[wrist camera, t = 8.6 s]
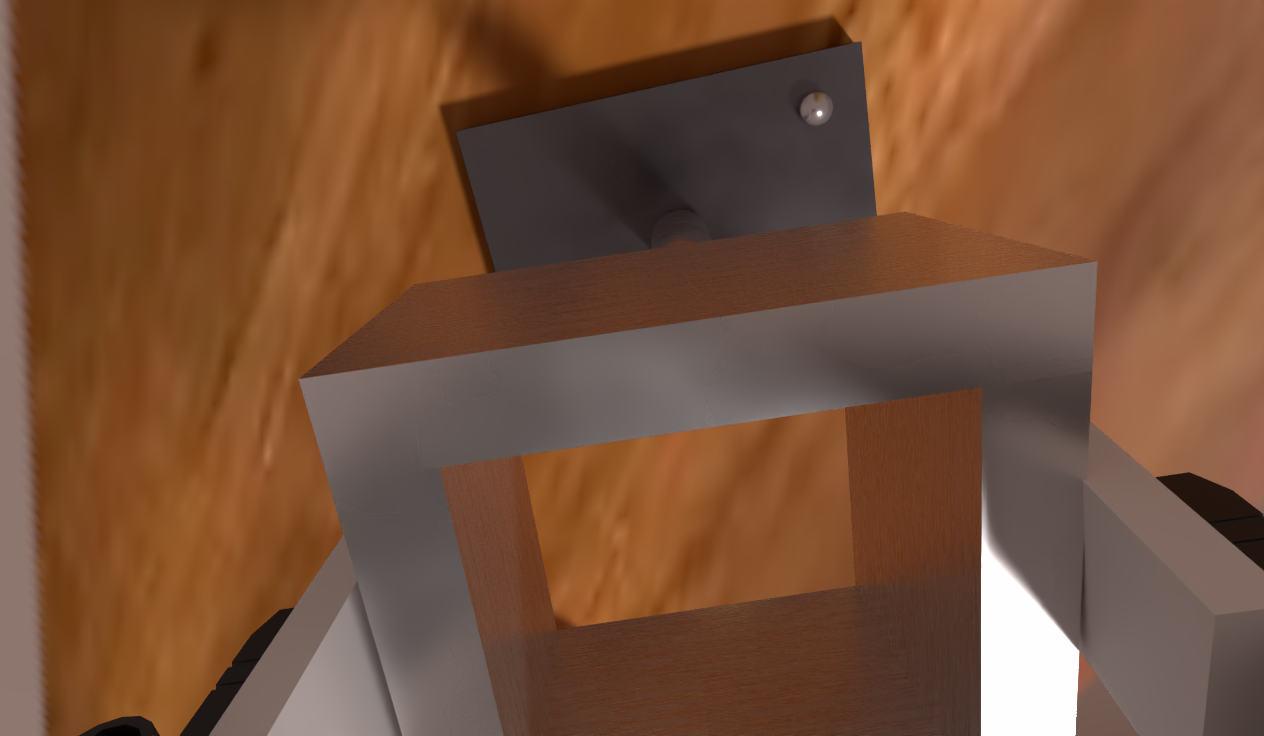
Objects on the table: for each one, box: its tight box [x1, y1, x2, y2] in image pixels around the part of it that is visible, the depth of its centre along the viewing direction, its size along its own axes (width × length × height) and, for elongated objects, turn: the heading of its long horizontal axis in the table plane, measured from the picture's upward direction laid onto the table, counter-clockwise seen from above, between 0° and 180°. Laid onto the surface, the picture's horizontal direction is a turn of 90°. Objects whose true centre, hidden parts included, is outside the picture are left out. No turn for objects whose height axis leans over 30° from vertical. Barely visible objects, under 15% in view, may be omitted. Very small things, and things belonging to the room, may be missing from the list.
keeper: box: [456, 42, 877, 272], centre depth 27 cm, size 16×12×11 cm
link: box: [299, 212, 1097, 736], centre depth 12 cm, size 9×9×6 cm
